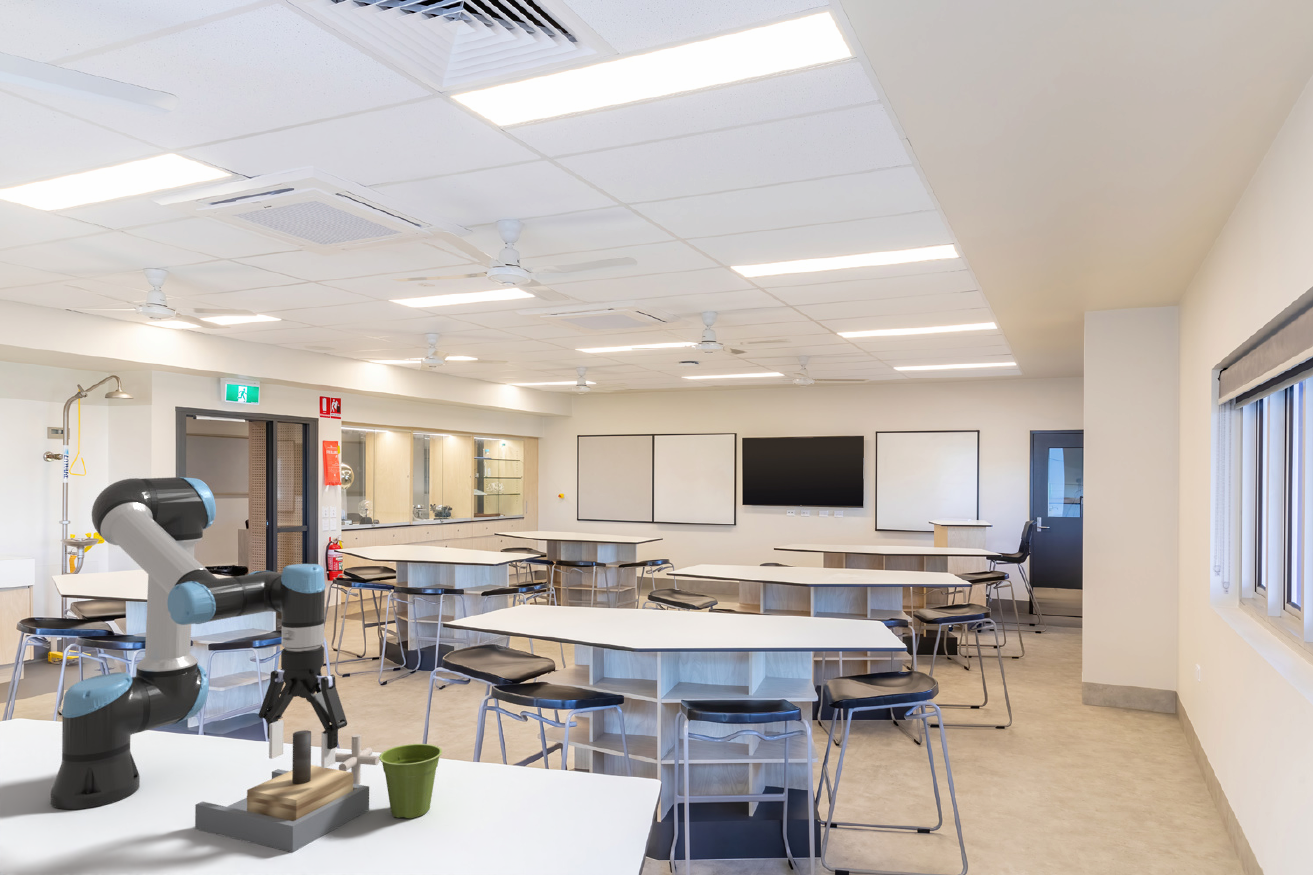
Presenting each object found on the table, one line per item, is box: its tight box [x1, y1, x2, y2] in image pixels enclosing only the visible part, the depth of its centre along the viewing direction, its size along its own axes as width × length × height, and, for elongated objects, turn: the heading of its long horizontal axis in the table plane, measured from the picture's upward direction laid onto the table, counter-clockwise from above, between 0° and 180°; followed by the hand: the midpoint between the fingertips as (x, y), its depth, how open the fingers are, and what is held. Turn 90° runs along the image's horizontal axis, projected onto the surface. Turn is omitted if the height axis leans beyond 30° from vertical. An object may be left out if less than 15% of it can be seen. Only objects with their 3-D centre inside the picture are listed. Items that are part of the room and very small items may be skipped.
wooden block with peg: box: [246, 729, 353, 821], centre depth 156 cm, size 12×14×15 cm
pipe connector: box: [335, 733, 380, 785], centre depth 175 cm, size 10×10×10 cm
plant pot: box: [378, 743, 443, 819], centre depth 161 cm, size 12×12×11 cm
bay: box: [194, 768, 370, 853], centre depth 158 cm, size 24×19×4 cm
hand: (301, 760), depth 157 cm, fingers open, 12 cm apart
